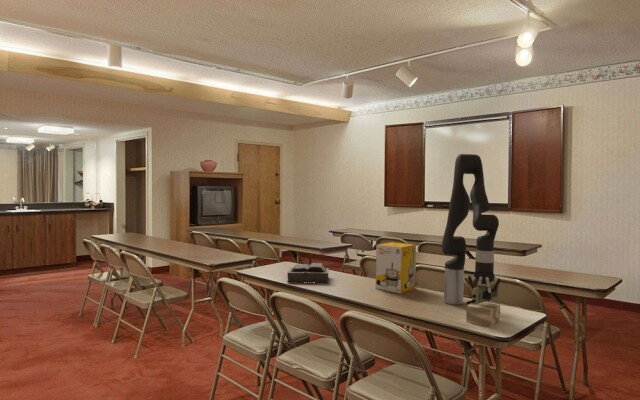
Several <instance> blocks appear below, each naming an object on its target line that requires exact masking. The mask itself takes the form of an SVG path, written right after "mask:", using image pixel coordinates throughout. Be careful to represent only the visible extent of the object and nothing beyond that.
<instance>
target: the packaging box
mask: <svg viewBox="0 0 640 400" xmlns="http://www.w3.org/2000/svg"><path fill="white" fill-rule="evenodd" d="M375 246H376V249H375V250H376V251H375V252H376V255H375V258H376V259H375V289H376V290H379V289H381V290H380V291H385V290H386V291H387V292H390V291H391V292H392V293H397V294H403V293H406V292H409V291H411V290H412V291H413V290H415V289H416V270H417V269H416V265H417V260H416V259H417V244H413V243H412V244H411V243H402V242H390V241H389V242H385V243H380V244H376V245H375Z"/></svg>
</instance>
